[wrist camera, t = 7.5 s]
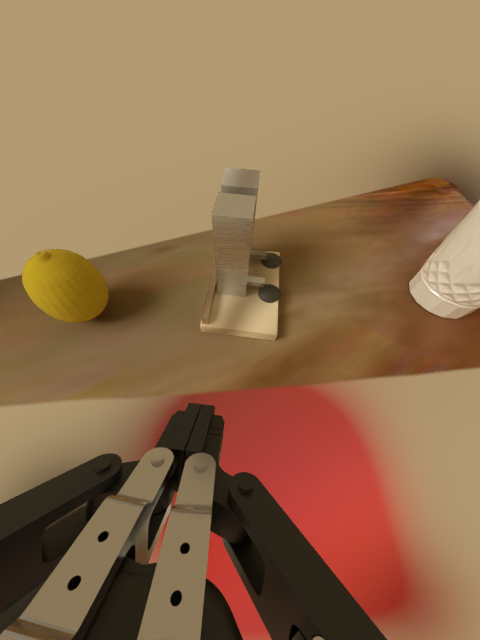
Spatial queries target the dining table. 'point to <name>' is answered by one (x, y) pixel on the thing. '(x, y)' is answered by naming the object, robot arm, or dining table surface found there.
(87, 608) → the robot arm
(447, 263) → the white cup
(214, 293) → the gauge board
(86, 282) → the lemon
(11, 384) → the dining table surface
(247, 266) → the block
